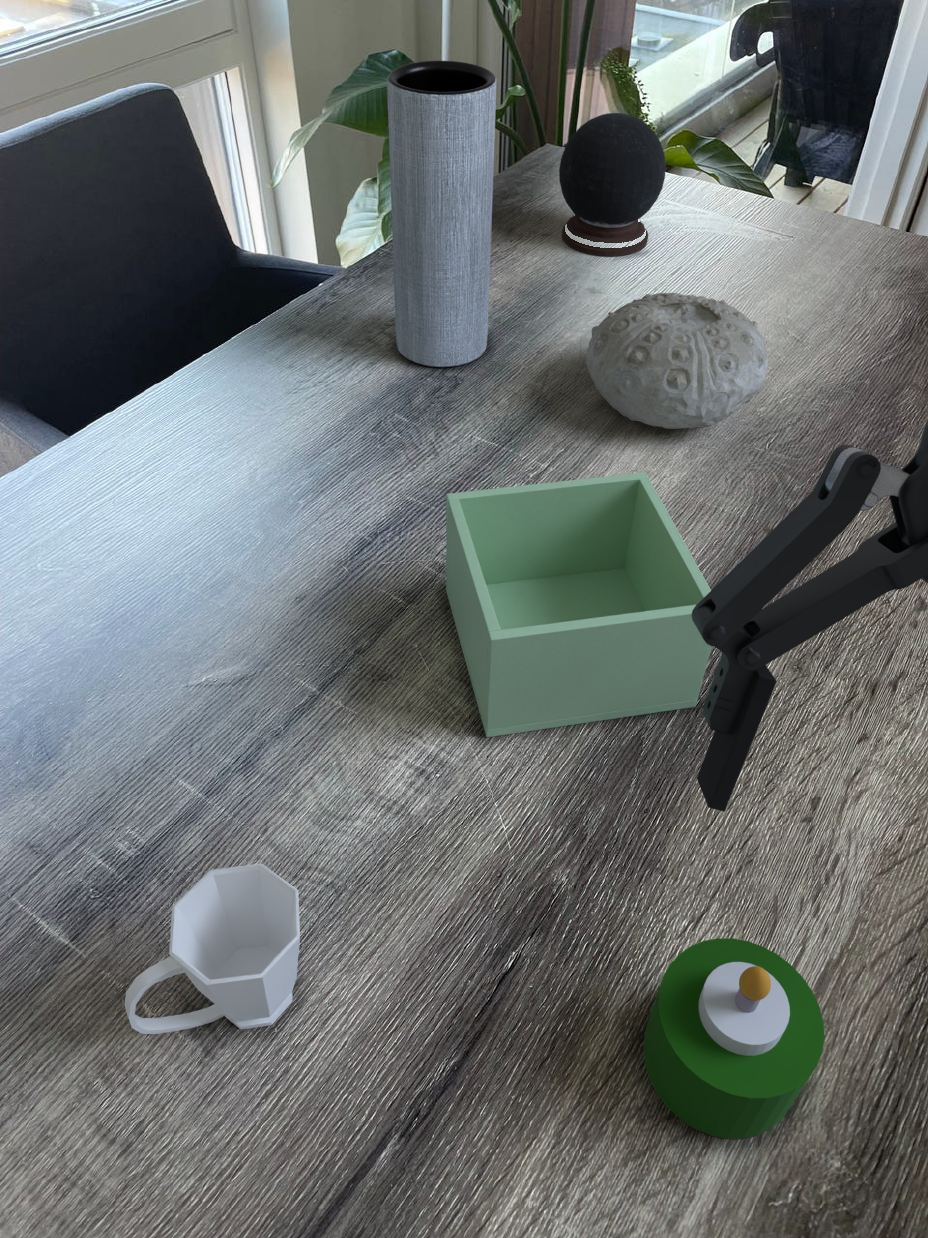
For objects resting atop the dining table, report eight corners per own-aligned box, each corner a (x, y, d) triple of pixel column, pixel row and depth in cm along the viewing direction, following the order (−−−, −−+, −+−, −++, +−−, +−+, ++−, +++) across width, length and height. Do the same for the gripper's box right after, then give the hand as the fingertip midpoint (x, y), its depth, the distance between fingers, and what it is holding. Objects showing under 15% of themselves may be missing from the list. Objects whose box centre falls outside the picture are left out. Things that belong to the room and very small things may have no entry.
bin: (695, 707, 73) (722, 609, 66) (486, 737, 70) (491, 640, 63) (629, 567, 84) (645, 471, 77) (446, 590, 81) (446, 493, 74)
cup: (338, 1013, 56) (327, 942, 50) (166, 1109, 52) (132, 1044, 47) (287, 915, 60) (271, 840, 55) (124, 997, 56) (89, 925, 51)
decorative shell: (562, 364, 107) (570, 275, 100) (717, 349, 110) (736, 261, 103) (613, 459, 95) (627, 365, 88) (787, 439, 98) (814, 347, 91)
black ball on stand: (603, 209, 137) (616, 90, 127) (676, 241, 130) (696, 118, 120) (533, 234, 131) (541, 111, 120) (605, 269, 124) (620, 142, 113)
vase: (468, 317, 114) (473, 55, 96) (500, 359, 108) (513, 86, 89) (384, 331, 112) (373, 64, 93) (413, 375, 105) (406, 97, 86)
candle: (672, 961, 58) (703, 868, 51) (813, 1027, 56) (866, 938, 49) (621, 1090, 53) (648, 1007, 46) (774, 1170, 50) (827, 1094, 44)
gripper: (1279, 438, 43) (1059, 848, 50) (731, 284, 42) (583, 728, 49) (1433, 471, 36) (1153, 943, 43) (781, 287, 35) (599, 807, 42)
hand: (850, 830), depth 46 cm, fingers open, 13 cm apart
